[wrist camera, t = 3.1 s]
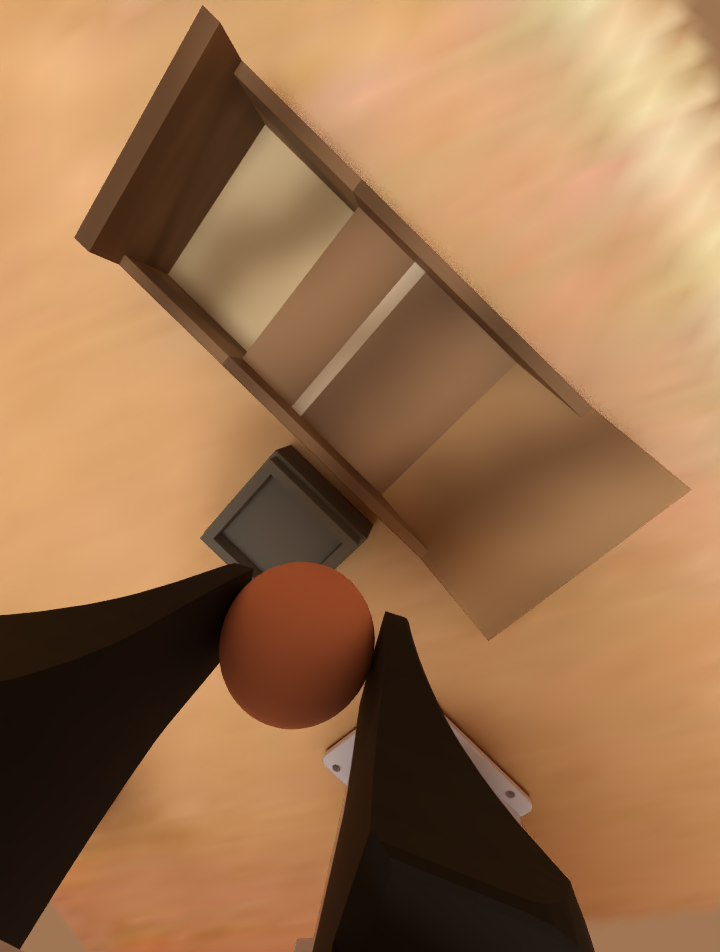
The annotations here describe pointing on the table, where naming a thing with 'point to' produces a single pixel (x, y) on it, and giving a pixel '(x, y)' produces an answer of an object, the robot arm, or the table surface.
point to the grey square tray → (287, 518)
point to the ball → (296, 645)
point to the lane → (365, 340)
